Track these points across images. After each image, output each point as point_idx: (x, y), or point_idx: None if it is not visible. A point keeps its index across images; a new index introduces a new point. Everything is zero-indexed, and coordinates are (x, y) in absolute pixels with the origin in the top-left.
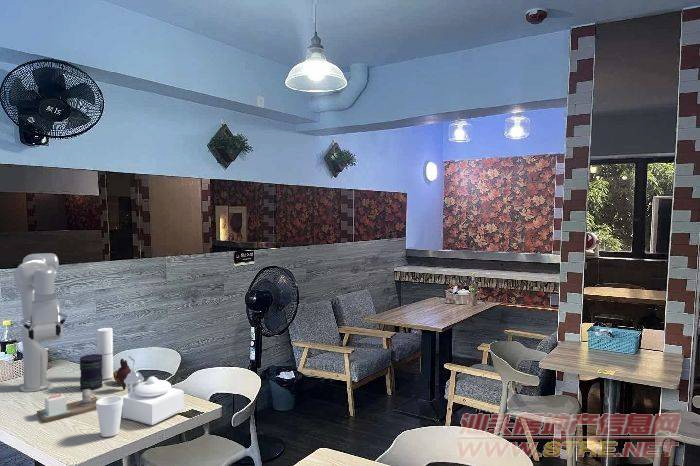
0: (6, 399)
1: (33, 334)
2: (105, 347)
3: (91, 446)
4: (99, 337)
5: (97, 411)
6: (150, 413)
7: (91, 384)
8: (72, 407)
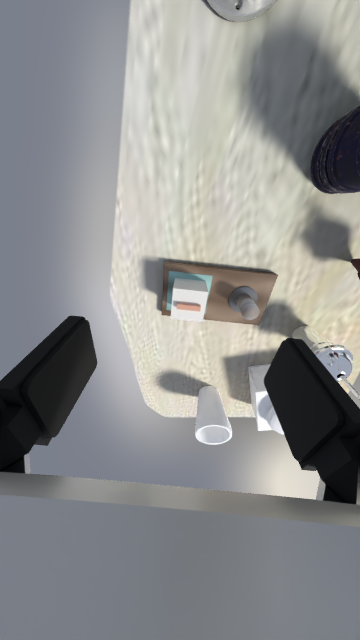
0: (131, 27)
1: (76, 398)
2: None
3: (179, 402)
4: None
5: (196, 421)
6: (255, 415)
7: (331, 190)
8: (217, 297)
